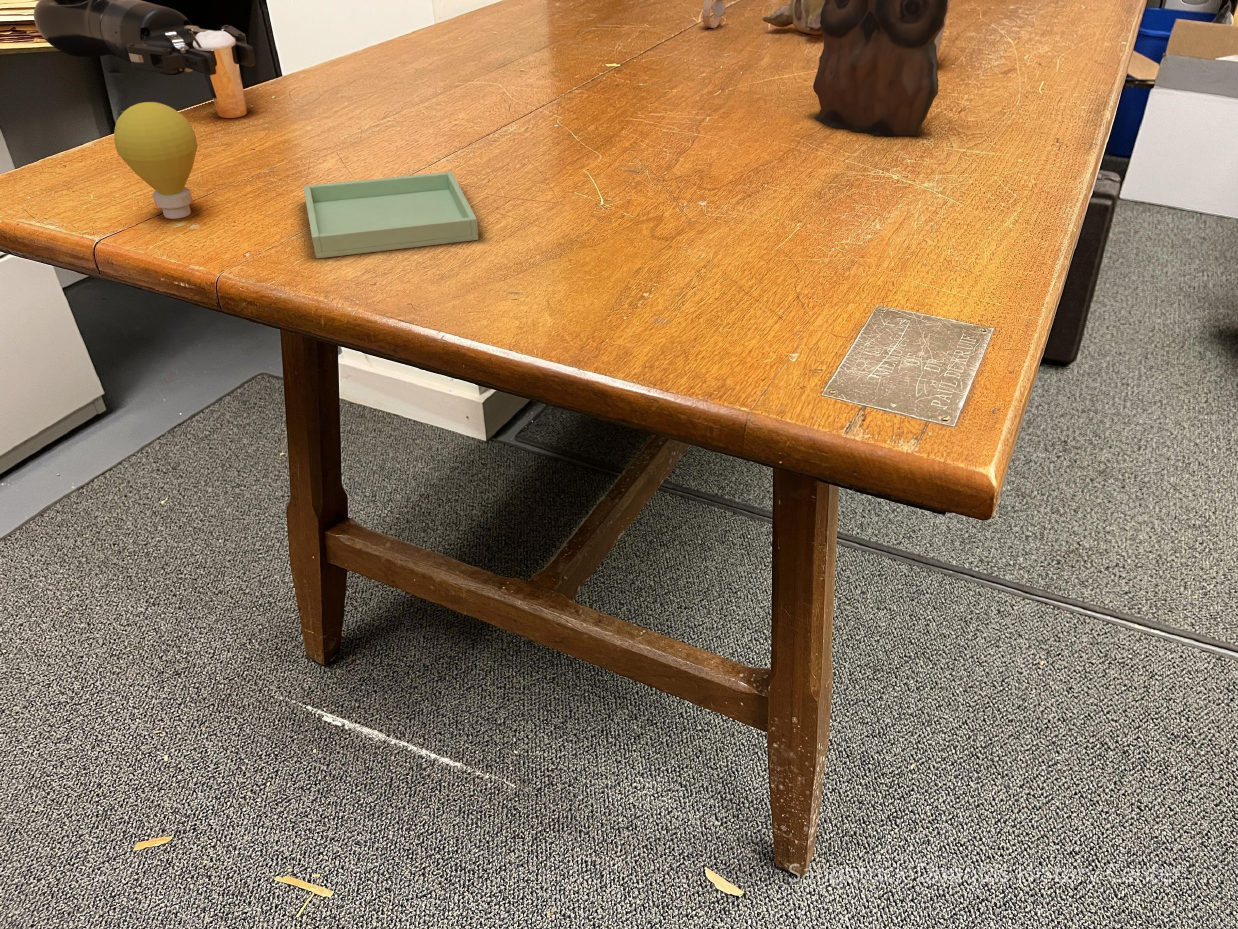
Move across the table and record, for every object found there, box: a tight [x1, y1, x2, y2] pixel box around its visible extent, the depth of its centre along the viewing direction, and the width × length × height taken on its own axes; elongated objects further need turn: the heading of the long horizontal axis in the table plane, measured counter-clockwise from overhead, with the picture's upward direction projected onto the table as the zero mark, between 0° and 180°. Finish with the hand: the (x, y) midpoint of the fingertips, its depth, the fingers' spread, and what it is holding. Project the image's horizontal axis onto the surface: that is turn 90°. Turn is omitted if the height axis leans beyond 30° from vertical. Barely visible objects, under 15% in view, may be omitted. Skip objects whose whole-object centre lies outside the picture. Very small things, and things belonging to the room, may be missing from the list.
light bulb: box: [113, 101, 198, 220], centre depth 82 cm, size 7×7×10 cm
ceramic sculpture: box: [762, 0, 825, 36], centre depth 146 cm, size 11×9×15 cm
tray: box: [302, 171, 479, 260], centre depth 84 cm, size 14×12×2 cm
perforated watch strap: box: [701, 0, 727, 29], centre depth 148 cm, size 3×5×5 cm, turn 148°
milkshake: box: [189, 29, 248, 119], centre depth 105 cm, size 4×5×10 cm
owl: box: [812, 0, 949, 137], centre depth 105 cm, size 13×13×20 cm
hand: (231, 60), depth 103 cm, fingers closed on milkshake, 4 cm apart
